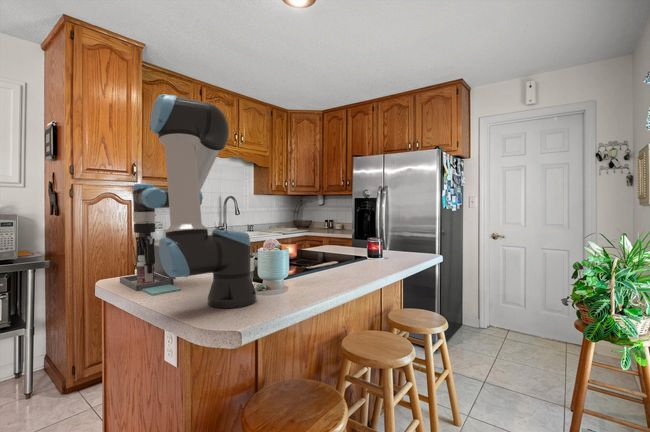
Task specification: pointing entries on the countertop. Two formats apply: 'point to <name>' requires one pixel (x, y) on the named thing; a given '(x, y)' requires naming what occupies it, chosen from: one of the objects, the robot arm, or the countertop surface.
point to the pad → (161, 289)
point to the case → (158, 270)
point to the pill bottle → (142, 271)
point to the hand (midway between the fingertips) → (145, 280)
